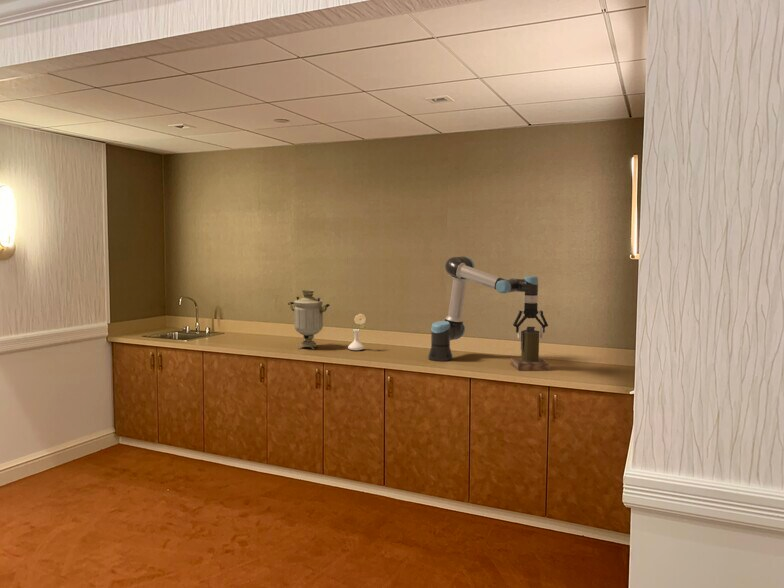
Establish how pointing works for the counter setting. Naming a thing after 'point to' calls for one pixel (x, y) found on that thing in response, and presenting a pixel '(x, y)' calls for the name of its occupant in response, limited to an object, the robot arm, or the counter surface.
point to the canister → (530, 345)
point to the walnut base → (529, 364)
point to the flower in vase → (356, 344)
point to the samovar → (308, 317)
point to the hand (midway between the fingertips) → (530, 338)
